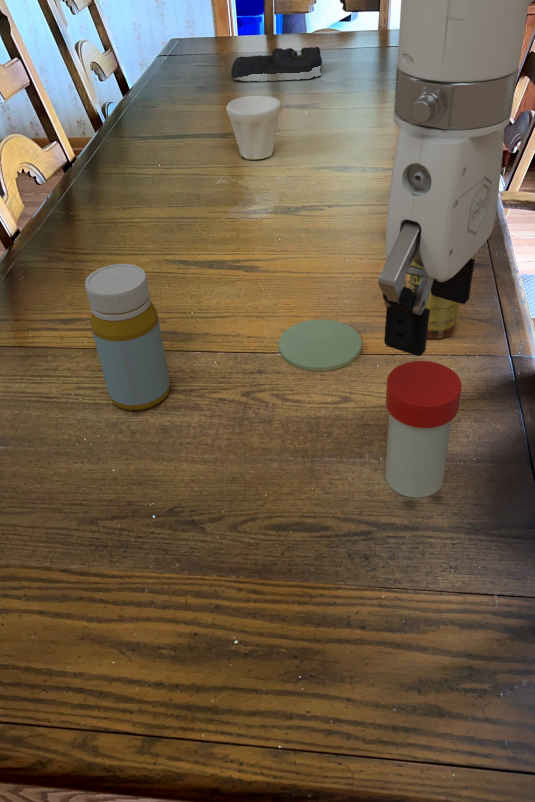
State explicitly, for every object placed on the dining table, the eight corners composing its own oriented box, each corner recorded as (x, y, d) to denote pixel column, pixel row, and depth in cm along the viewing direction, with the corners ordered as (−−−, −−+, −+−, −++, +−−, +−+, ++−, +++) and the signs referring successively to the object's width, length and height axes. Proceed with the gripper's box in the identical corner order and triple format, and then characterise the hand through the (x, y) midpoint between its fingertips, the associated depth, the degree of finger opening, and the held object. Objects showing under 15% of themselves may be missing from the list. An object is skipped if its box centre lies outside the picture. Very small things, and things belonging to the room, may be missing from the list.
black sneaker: (235, 65, 182) (233, 45, 179) (321, 61, 180) (321, 40, 177) (229, 83, 170) (227, 62, 167) (322, 79, 168) (322, 57, 165)
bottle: (173, 408, 79) (151, 291, 70) (109, 418, 79) (79, 301, 69) (169, 371, 85) (148, 257, 75) (110, 379, 84) (81, 266, 74)
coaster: (376, 337, 87) (376, 333, 87) (335, 381, 81) (335, 377, 81) (306, 315, 92) (306, 311, 92) (262, 355, 86) (262, 351, 86)
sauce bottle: (407, 312, 91) (419, 159, 78) (457, 315, 90) (478, 160, 77) (404, 341, 86) (416, 183, 74) (457, 345, 85) (479, 185, 72)
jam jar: (453, 469, 70) (466, 379, 63) (428, 506, 66) (440, 415, 59) (400, 448, 72) (408, 360, 65) (374, 483, 69) (379, 394, 62)
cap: (469, 395, 64) (473, 374, 62) (440, 437, 60) (443, 415, 58) (404, 374, 67) (406, 352, 65) (373, 412, 63) (374, 391, 61)
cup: (242, 169, 130) (238, 117, 124) (222, 151, 137) (217, 101, 131) (292, 157, 133) (290, 106, 127) (270, 141, 140) (267, 91, 134)
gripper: (454, 150, 39) (425, 396, 51) (553, 68, 50) (511, 286, 61) (336, 129, 43) (332, 364, 54) (452, 56, 54) (429, 265, 65)
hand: (427, 321), depth 58 cm, fingers open, 7 cm apart
